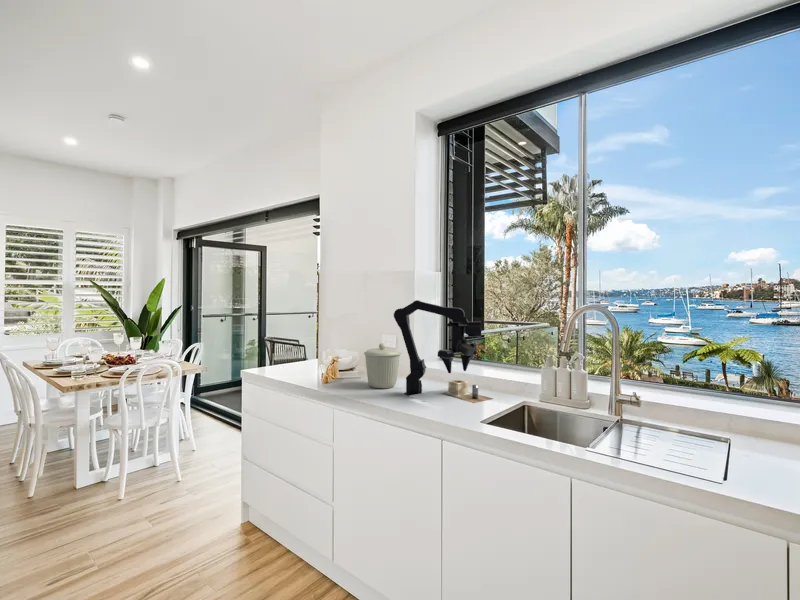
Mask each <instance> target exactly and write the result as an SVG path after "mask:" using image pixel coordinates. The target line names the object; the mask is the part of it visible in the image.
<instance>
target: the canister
mask: <svg viewBox="0 0 800 600" xmlns="http://www.w3.org/2000/svg"><path fill="white" fill-rule="evenodd" d="M401 354H402V352H401V351H399V350H397V349H395V348H387V345H386V343H383V342H381V343H379V344H378V348H370V349H367V350H366V351H364V352H363V355H365V357H364V358H365V366H366V367H365V368H366V376H367V382H368V385H369V386H370V387H371V388H375V389H390V388H393V387H394V386H395V385H396V384H397V380H398V373H399V365H400V357H401V356H400V355H401Z"/></svg>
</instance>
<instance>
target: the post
mask: <svg viewBox="0 0 800 600" xmlns="http://www.w3.org/2000/svg"><path fill="white" fill-rule="evenodd" d="M471 386H472V389H471V393H472V399H478V395H479V385H478V384H472V385H471Z"/></svg>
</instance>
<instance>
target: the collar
mask: <svg viewBox="0 0 800 600" xmlns="http://www.w3.org/2000/svg"><path fill="white" fill-rule="evenodd" d="M447 385H448V388H447V389H448V391H447V392H448V393H451V394H455V395H463V394H468V392H469V381H465V380H461V379H455V380H454V379H453V380H450V381H448V384H447Z"/></svg>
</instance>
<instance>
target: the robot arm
mask: <svg viewBox="0 0 800 600" xmlns="http://www.w3.org/2000/svg"><path fill="white" fill-rule="evenodd" d="M418 310H419V311H423V312H424V311H425V312H427V313H432V314H435V315H439V316H440V315H441V316H442V317H445V318H448V319H449V320H450V321H449V322H448V323H447V324H446V327H450V338H448V341H449V342H450V347H448V349H439V350H438V351H437V357H439V359H440V360H441V361H442V362H443V364H444V366H445V368H446V370H447V373H448V374H451V373H452V362H453V360H454V357H453V356H456V355H457V356H458V355H460V358H461V364H462V369H463V372H466V371H467V369H468V366H469V363H470V361H471V359H472V358H474V357H475V356H476V355H477V353H478V352H477V348H478V346H477V343H475V342H472V343H468V341H467V339H466V338H465V335H467V337H469V338H482V321H481V320H479V321H469V320H468V318H467V317H466V316H465V314H466V313H465V311H464V309H463V308H461V307H449V306H442V305H437V304H433V303H429V302H424V301H421V300H419V299H418V300H413V302H411V303H410V304H408V305H406V306H405V307H401V308H398V309H395V310H394V312H393V318H394V320H395V322H396V323H397V326H398V327H399V329H400V331H401V334H402V337H403V341H404V344H405V348H406V350H407V354H408V358H409V371H410V373H409V374H408V375H407V376H406V377H405V379H406V380H405V392H403V394H404V395H406V396H414V395H421V394H422V393H423V392H422V391H423V384H422V380H421V379H422V378H423V377H424V375H425V373H426V368H427V366H426V364H425V359H421V358H420V356H419V353H418V351H417V347H416V343H415V340H414V337H413V334H412V330H411V326H410V323H411V321H410V320H411V319H410V315H411V314H414V312H416V311H418ZM460 323H461V324H460Z"/></svg>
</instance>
